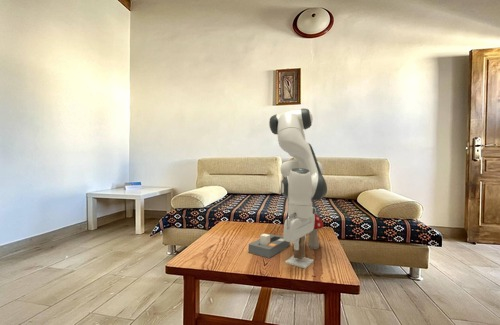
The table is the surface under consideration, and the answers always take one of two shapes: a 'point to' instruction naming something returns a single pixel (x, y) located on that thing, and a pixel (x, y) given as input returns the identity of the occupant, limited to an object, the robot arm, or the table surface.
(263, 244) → the switch tab
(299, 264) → the pad
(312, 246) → the decorative mushroom
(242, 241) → the table surface
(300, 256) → the brown wooden beam
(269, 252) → the switch panel
